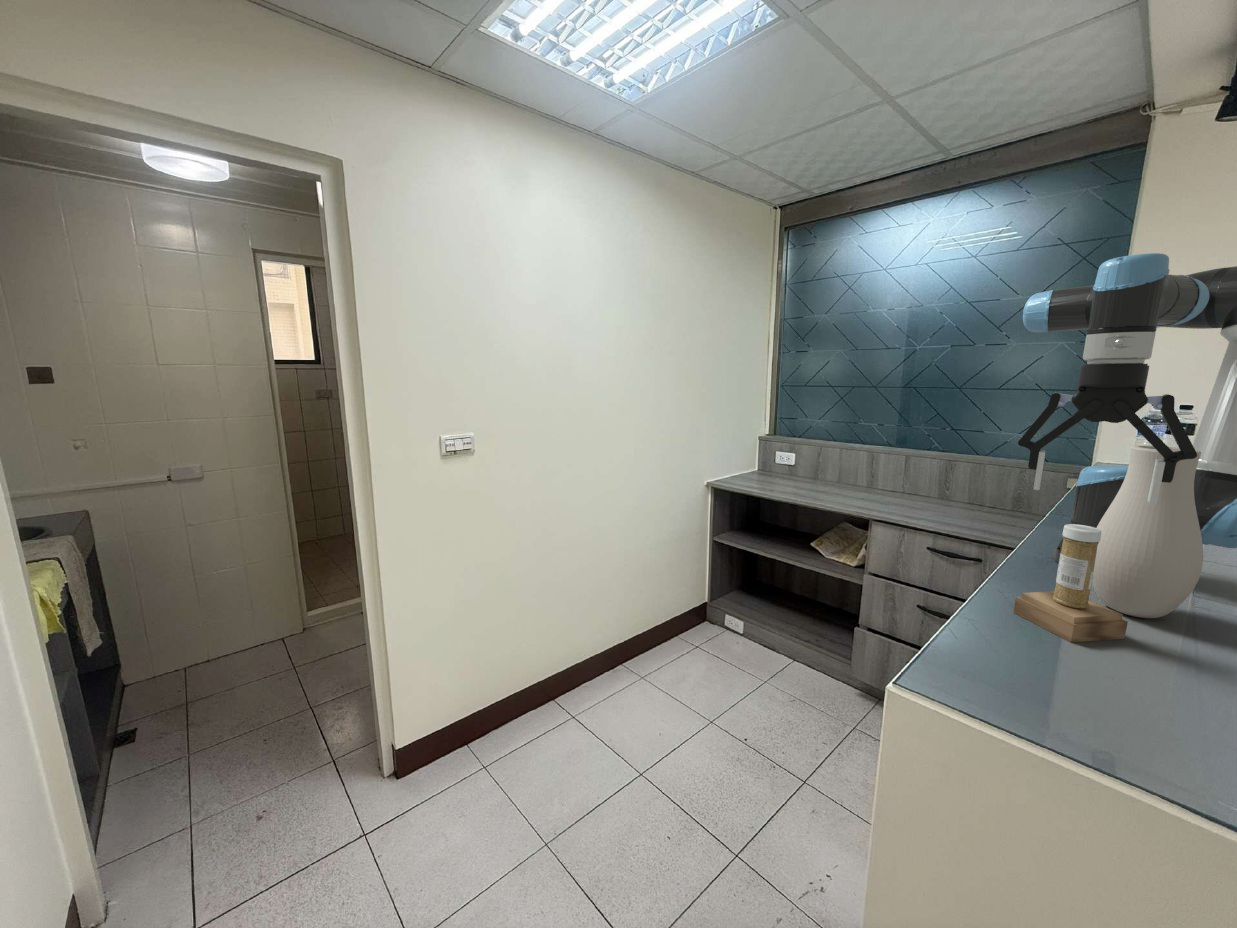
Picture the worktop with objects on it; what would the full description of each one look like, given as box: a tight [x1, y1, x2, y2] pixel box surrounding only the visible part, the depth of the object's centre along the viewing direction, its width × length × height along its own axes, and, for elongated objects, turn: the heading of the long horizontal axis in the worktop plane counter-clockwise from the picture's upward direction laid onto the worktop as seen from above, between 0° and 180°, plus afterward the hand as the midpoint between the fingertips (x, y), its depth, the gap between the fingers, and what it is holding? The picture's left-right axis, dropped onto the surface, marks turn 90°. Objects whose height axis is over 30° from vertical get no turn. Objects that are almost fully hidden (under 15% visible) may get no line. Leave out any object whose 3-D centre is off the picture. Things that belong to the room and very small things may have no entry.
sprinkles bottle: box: [1053, 523, 1101, 608], centre depth 82 cm, size 5×5×14 cm
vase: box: [1092, 444, 1204, 619], centre depth 86 cm, size 14×14×30 cm
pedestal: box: [1013, 590, 1129, 643], centre depth 83 cm, size 10×10×4 cm
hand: (1091, 495), depth 80 cm, fingers open, 13 cm apart
